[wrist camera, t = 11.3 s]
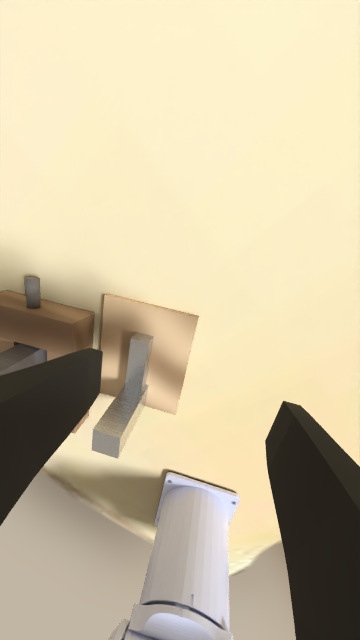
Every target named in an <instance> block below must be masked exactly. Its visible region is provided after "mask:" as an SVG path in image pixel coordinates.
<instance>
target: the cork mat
mask: <svg viewBox="0 0 360 640" xmlns="http://www.w3.org/2000/svg"><path fill="white" fill-rule="evenodd" d="M198 317H199V316H196V315H192V314H188V313H184V312H180V311H176V310H172V309H168V308H163V307H159V306H155V305H151V304H147V303H143V302H139V301H135V300H130V299H126V298H122V297H118V296H114V295H110V294H106V295H104V305H103V320H102V335H101V350H100V351H103V358H102V372H101V386H100V393H103V394H107V395H110V396H114V397H116V396H117V395H118V393H119V392H120V391H121V389H122V388H123V386H124V385H125V382H126V374H127V366H128V357H129V349H130V341H131V338H132V337H133V336H134V335H135V334H136V333H137V332H139V333H143V334H147V335H151V336H154V339H153V345H152V351H151V357H150V364H149V370H148V376H147V382H146V385H149V386H148V392H147V398H146V403H145V405H144V406H147V407H151V408H154V409H157V410H161V411H164V412H167V413H171V414H174V415H176V411H177V407H178V403H179V399H180V394H181V390H182V386H183V381H184V377H185V373H186V369H187V364H188V360H189V356H190V351H191V347H192V343H193V339H194V334H195V330H196V326H197V321H198Z"/></svg>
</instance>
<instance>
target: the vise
mask: <svg viewBox="0 0 360 640" xmlns="http://www.w3.org/2000/svg"><path fill="white" fill-rule="evenodd" d="M25 292H26V295H23V294H19V293H15V292H11V291H2V292H0V376H1V375H4V374H7V373H11V372H14V371H17V370H21V369H24V368H27V367H31V366H34V365H37V364H40V363H43V362H46V361H49V360H52V359H55V358H58V357H61V356H64V355H67V354H70V353H73V352H76V351H79V350H82V349H86V348H92V343H93V324H94V313H93V312H90V311H86V310H82V309H78V308H74V307H70V306H66V305H62V304H58V303H54V302H50V301H46V300H42V299H40V278H38V277H25ZM88 416H89V410H88V412H87V413H86V415H85V416H84V417H83V418H82V420H81V421H80V422H79V423H78V425H77V426H76V427H75V428H74V429H73V431H72V433H76V431H77V430H78V429H79V428H80V426H81V425H82V424H83V422H84V421H85V420H86V419H87V417H88Z"/></svg>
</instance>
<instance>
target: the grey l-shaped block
mask: <svg viewBox="0 0 360 640" xmlns="http://www.w3.org/2000/svg"><path fill="white" fill-rule="evenodd" d="M153 339H154V336H151V335H147V334H143V333H139V332H137V333H136V334H135V335H134V336H133V337H132V338H131V341H130V349H129V357H128V366H127V374H126V382H125V385H124V386H123V388H122V389H121V391H120V392H119V393H118V395H117V396H116V398H115V399H114V400H113V402H112V403H111V405H110V406H109V408H108V409H107V410H106V412H105V413H104V415H103V416H102V417H101V419H100V420H99V422H98V423H97V425H96V426H95V427H94V429H93V439H92V450H93V451H96V452H99V453H102V454H105V455H108V456H112V457H115V458H118V457H119V455H120V453H121V451H122V449H123V447H124V445H125V443H126V441H127V439H128V437H129V435H130V433H131V431H132V429H133V427H134V425H135V423H136V421H137V419H138V417H139V415H140V413H141V411H142V409H143V407H144V405H145V403H146V398H147V392H148V386H149V385H146V382H147V376H148V370H149V364H150V357H151V351H152V345H153Z"/></svg>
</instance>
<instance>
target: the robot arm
mask: <svg viewBox="0 0 360 640" xmlns="http://www.w3.org/2000/svg"><path fill="white" fill-rule="evenodd" d="M102 358H103V351H99V350H96V349H92V348H86V349H82V350H79V351H76V352H73V353H70V354H67V355H64V356H61V357H58V358H55V359H52V360H49V361H46V362H43V363H40V364H37V365H34V366H31V367H27V368H24V369H21V370H17V371H14V372H11V373H7V374H4V375H1V376H0V526H1V524H2V523H3V521H4V520H5V518H6V517H7V515H8V513H9V512H10V511H11V509H12V508H13V506H14V505H15V504H16V502H17V501H18V499H19V498H20V497H21V495H22V494H23V492H24V491H25V489H26V488H27V487H28V485H29V484H30V482H31V481H32V480H33V478H34V477H35V476H36V474H37V473H38V472H39V471H40V469H41V468H42V467H43V466H44V464H45V463H46V462H47V461H48V459H49V458H50V457H51V456H52V455H53V453H54V452H55V451H56V450H57V449H58V447H59V446H60V445H61V444H62V443H63V441H64V440H65V439H66V438H67V437H68V435H69V434H70V433H71V432H72V431H73V429H74V428H75V427H76V426H77V425H78V423H79V422H80V421H81V420H82V418H83V417H84V416H85V415H86V413H87V412H88V410H89V409H90V407H91V406H92V404H93V403H94V401H95V399H96V398H97V396H98V395H99V393H100V386H101V372H102ZM265 443H266V457H267V468H268V474H269V479H270V484H271V489H272V494H273V499H274V504H275V509H276V514H277V519H278V523H279V528H280V533H281V538H282V543H283V547H284V552H285V558H286V564H287V570H288V576H289V585H290V592H291V601H292V608H293V616H294V623H295V634H296V640H360V467H359V466H358V465H357V464H356V463H355V461H354V460H353V459H352V458H351V457H350V456H349V455H348V454H347V453H346V452H345V451H344V450H343V449H342V448H341V447H340V446H339V445H338V444H337V443H336V442H335V441H334V440H333V439H332V438H331V436H330V435H329V434H328V433H327V432H326V431H325V430H324V429H323V428H322V427H321V426H320V425H319V424H318V423H317V422H316V421H315V420H314V419H313V417H312V416H311V415H310V414H309V413H308V412H307V411H306V410H305V409H303V408H302V407H301V406H300V405H296V404H293V403H289V402H285V401H283V403H282V405H281V407H280V409H279V412H278V414H277V416H276V418H275V421H274V423H273V425H272V427H271V430H270V432H269V434H268V436H267V439H266V441H265ZM239 501H240V498H239V495H238V494H236V493H234V492H231V491H227V490H224V489H221V488H218V487H215V486H212V485H209V484H206V483H203V482H200V481H197V480H194V479H191V478H188V477H185V476H182V475H179V474H176V473H172V472H168V473H167V474H166V478H165V482H164V486H163V490H162V494H161V499H160V503H159V507H158V511H157V515H156V519H155V523H154V524H155V526H156V527H157V531H156V535H155V539H154V544H153V548H152V552H151V556H150V561H149V565H148V569H147V574H146V578H145V582H144V586H143V590H142V594H141V599H140V603H139V604H134V607H133V611H132V615H131V619H130V621H128V620H126V619H124V620H123V621H121V623H120V624H119V626H118V627H117V628H116V629H115V630H114V631H113V632H112V634H111V636H110V638H109V640H233V634H232V633H230V632H229V554H228V526H229V523H230V521H231V519H232V517H233V514H234V512H235V510H236V508H237V505H238V503H239Z"/></svg>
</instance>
